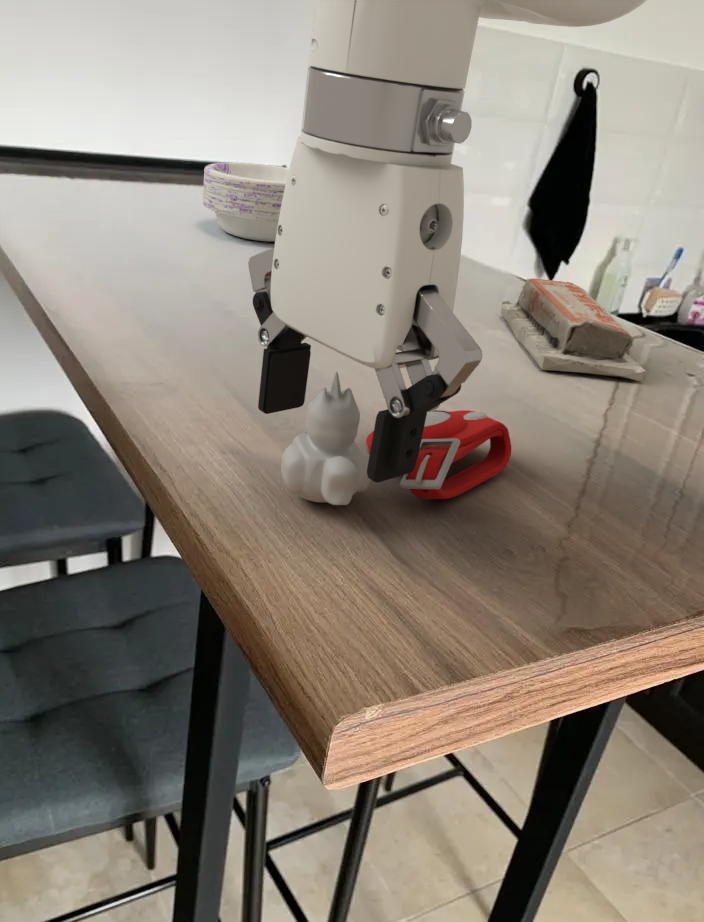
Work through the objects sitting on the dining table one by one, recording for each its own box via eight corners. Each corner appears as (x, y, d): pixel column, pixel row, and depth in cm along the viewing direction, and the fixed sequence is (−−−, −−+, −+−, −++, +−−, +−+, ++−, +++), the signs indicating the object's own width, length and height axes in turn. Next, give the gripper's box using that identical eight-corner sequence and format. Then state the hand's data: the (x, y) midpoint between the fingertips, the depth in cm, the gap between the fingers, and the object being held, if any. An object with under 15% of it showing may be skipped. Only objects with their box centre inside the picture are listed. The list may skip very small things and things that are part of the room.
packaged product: (507, 270, 92) (596, 281, 93) (496, 314, 95) (583, 325, 96) (553, 320, 77) (659, 334, 78) (539, 372, 79) (643, 384, 80)
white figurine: (348, 474, 56) (368, 357, 52) (383, 527, 50) (408, 400, 46) (267, 476, 54) (281, 354, 50) (293, 531, 49) (311, 399, 45)
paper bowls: (192, 216, 118) (195, 155, 114) (298, 225, 122) (305, 165, 119) (211, 244, 105) (216, 176, 101) (329, 252, 110) (338, 187, 106)
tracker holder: (341, 419, 60) (469, 386, 63) (351, 478, 62) (476, 444, 64) (409, 459, 49) (561, 418, 52) (419, 530, 51) (567, 487, 53)
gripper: (572, 156, 39) (487, 490, 47) (323, 99, 49) (290, 379, 58) (462, 152, 34) (389, 523, 42) (214, 90, 45) (195, 396, 53)
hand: (332, 440), depth 50 cm, fingers open, 9 cm apart
